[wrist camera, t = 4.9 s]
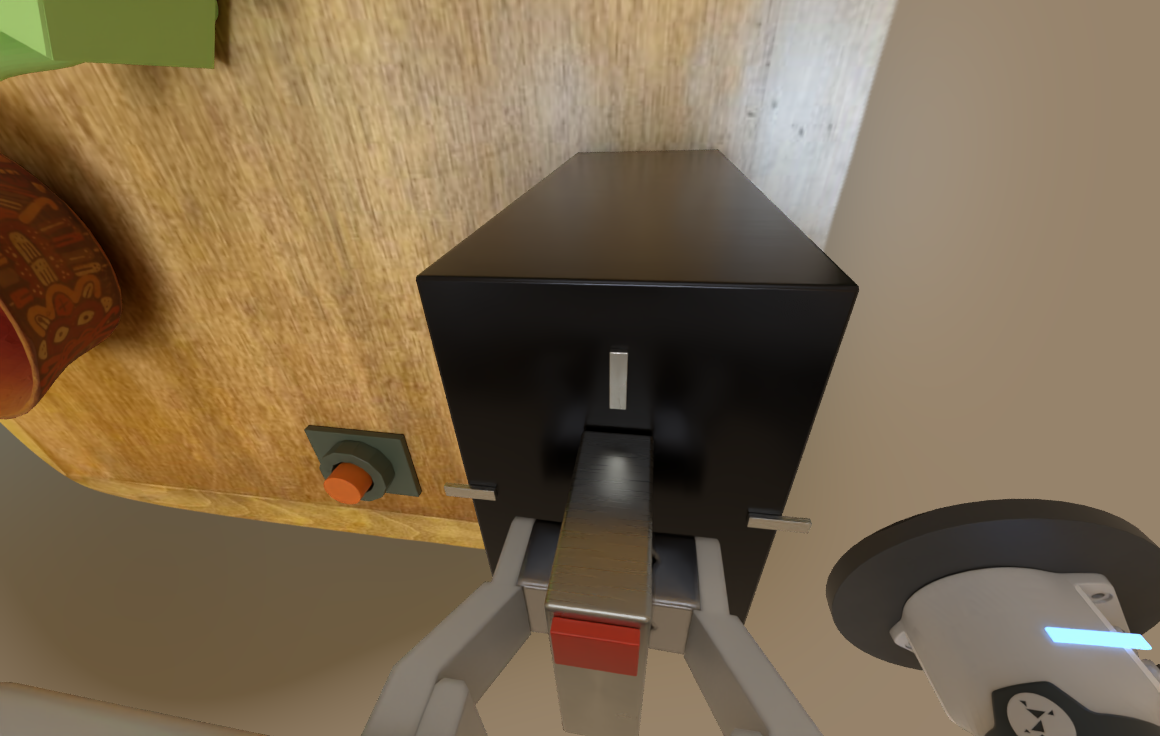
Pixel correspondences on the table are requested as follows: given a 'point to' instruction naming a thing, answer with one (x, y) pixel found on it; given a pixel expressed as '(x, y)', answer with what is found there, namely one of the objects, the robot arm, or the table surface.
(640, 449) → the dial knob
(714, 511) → the black lever box
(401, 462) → the housing
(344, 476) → the button
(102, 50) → the teapot
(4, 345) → the bowl
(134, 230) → the table surface
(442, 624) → the robot arm
